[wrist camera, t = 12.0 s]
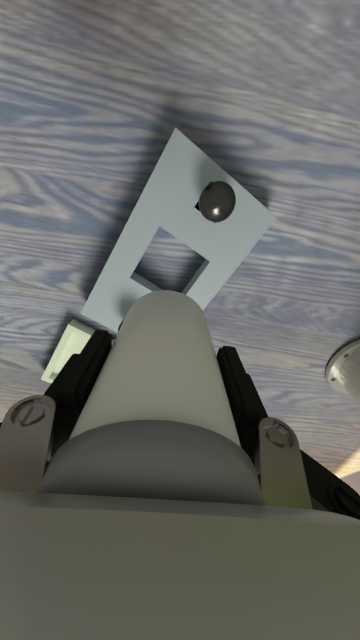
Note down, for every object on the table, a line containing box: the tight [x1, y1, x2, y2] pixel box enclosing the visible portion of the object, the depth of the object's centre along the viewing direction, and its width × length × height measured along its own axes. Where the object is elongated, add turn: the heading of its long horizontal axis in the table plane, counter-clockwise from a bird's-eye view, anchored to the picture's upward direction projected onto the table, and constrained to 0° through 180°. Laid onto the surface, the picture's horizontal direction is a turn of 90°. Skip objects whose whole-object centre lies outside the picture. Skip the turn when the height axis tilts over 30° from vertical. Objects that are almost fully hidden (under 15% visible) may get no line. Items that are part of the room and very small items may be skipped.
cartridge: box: [35, 290, 266, 506], centre depth 10 cm, size 6×6×10 cm
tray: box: [41, 319, 115, 384], centre depth 37 cm, size 13×13×2 cm
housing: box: [80, 127, 277, 333], centre depth 28 cm, size 14×24×3 cm, turn 146°
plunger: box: [199, 181, 236, 222], centre depth 24 cm, size 4×4×6 cm
